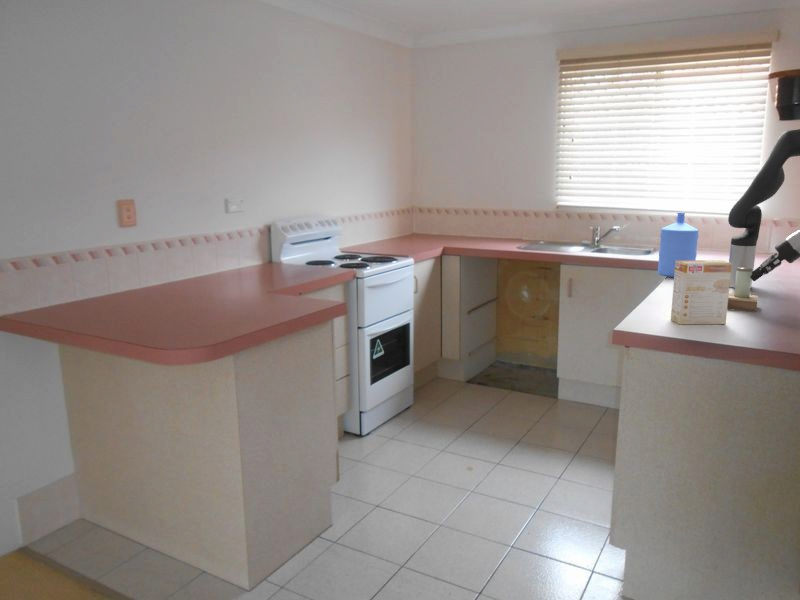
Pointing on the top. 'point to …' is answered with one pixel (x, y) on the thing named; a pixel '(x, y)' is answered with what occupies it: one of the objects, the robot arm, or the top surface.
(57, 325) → the top surface
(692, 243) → the water jug
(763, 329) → the top surface
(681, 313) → the coffeecake box
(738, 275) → the spice jar
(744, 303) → the walnut plinth
